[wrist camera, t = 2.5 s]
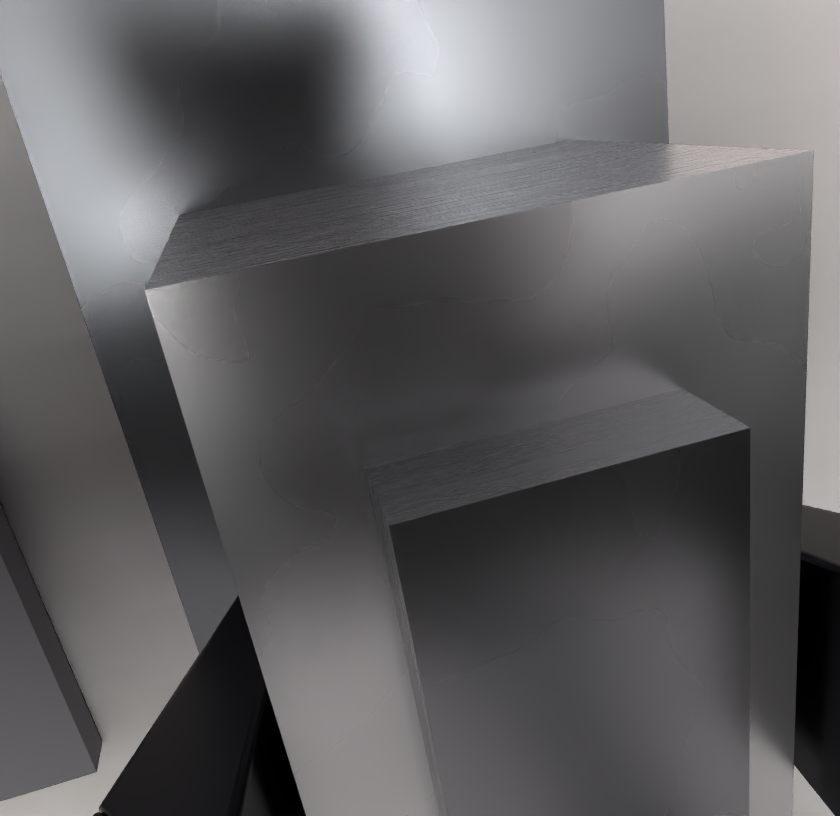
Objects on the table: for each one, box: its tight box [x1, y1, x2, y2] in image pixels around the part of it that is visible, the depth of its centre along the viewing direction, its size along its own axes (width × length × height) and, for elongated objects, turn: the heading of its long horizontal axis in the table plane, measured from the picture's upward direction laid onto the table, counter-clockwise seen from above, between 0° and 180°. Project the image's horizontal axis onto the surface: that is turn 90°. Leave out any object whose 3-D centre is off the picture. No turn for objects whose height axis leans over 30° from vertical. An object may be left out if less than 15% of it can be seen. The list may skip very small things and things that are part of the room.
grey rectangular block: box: [145, 140, 814, 816], centre depth 8 cm, size 9×4×5 cm, turn 10°
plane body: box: [0, 0, 669, 654], centre depth 11 cm, size 22×7×8 cm, turn 10°
